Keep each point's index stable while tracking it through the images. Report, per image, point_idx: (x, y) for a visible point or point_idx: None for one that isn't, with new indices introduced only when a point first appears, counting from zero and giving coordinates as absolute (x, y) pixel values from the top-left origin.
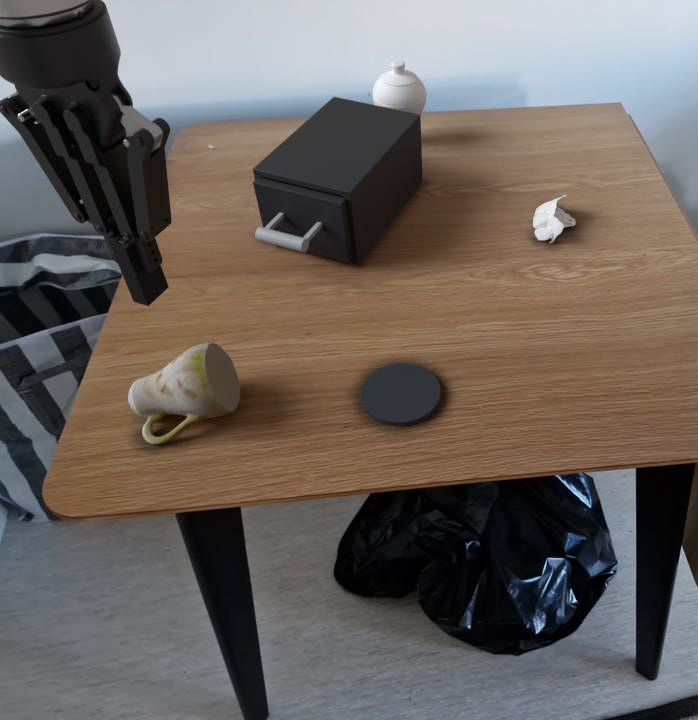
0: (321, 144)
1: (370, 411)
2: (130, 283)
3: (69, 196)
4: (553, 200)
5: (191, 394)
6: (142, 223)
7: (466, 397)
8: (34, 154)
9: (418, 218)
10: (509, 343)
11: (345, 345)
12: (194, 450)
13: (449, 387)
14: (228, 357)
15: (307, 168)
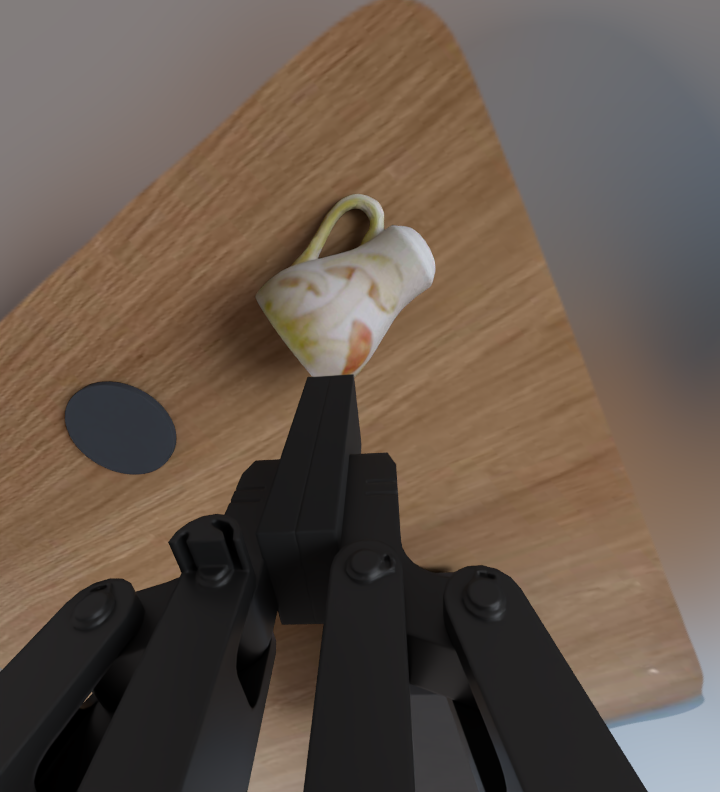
0: (429, 749)
1: (124, 389)
2: (331, 409)
3: (514, 750)
4: None
5: (286, 281)
6: (36, 682)
7: (59, 455)
8: None
9: (317, 649)
10: (86, 537)
11: (246, 467)
12: (288, 219)
13: (88, 460)
14: None
15: (412, 713)
